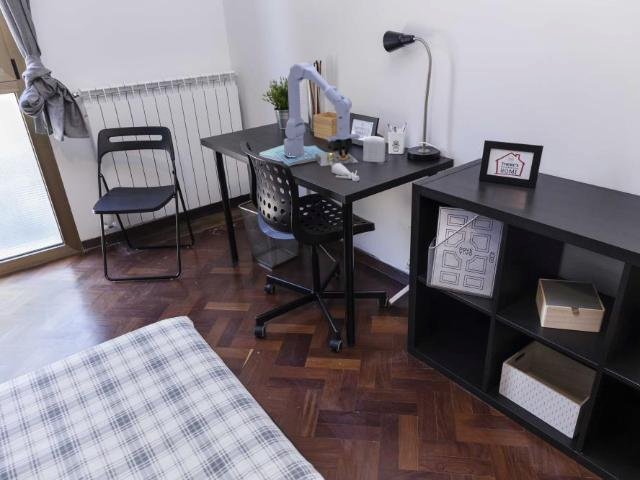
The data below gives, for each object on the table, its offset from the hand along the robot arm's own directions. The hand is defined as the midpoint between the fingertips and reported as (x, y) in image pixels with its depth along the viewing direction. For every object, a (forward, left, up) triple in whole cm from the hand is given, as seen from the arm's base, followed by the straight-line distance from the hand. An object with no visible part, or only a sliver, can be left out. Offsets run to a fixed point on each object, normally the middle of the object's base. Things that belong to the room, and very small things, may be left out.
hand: (343, 155), depth 225 cm
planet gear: (0, +1, -2) cm, 2 cm away
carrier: (-3, +5, -4) cm, 7 cm away
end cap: (+4, +22, -4) cm, 23 cm away
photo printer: (+13, -5, -4) cm, 15 cm away
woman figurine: (-5, -19, -4) cm, 20 cm away
